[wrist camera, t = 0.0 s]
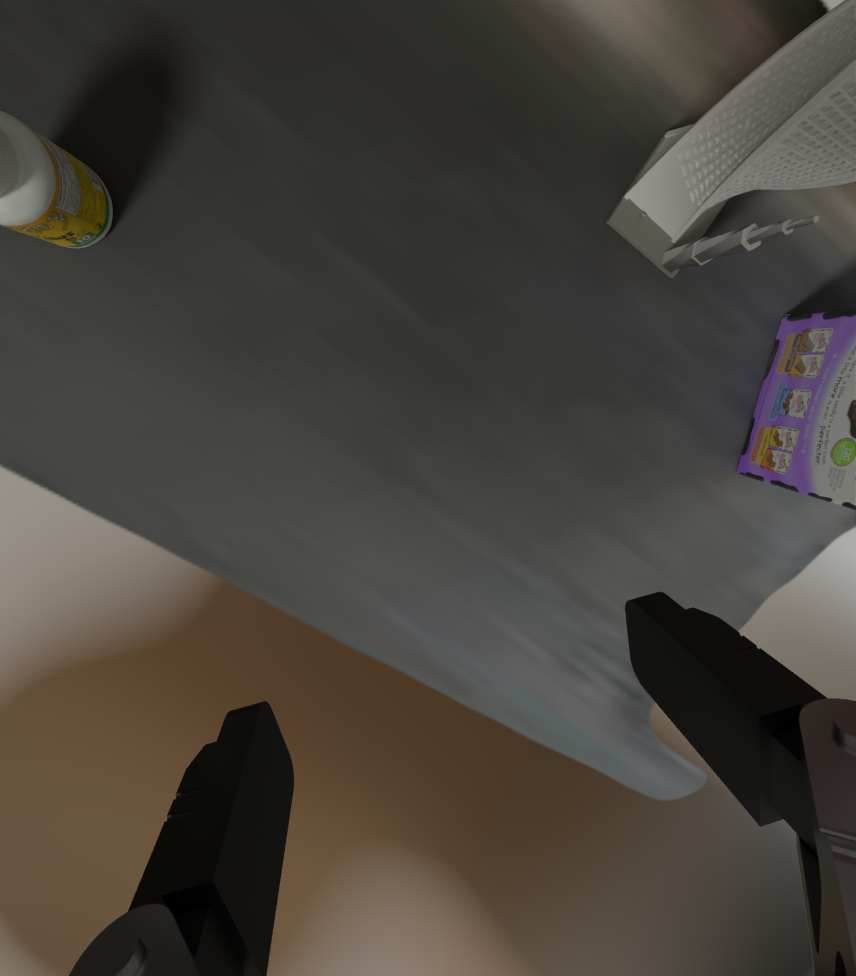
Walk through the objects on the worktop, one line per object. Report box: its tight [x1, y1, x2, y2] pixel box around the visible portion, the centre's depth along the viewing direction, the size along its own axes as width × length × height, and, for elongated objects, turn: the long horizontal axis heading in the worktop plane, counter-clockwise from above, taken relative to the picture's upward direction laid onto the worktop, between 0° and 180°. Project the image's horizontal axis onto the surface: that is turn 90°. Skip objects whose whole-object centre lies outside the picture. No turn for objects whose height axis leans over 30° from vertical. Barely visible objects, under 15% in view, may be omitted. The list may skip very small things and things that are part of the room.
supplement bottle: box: [0, 111, 113, 248], centre depth 27 cm, size 5×5×10 cm
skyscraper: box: [606, 0, 856, 278], centre depth 23 cm, size 8×8×28 cm
